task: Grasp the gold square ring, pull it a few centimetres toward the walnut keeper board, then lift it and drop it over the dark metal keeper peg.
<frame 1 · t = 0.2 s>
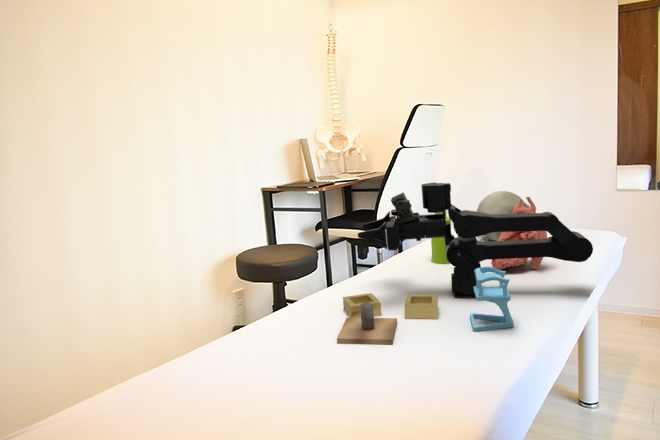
hand: (360, 230, 127), 16 cm above the table, fingers open, 9 cm apart
gold square ring: (421, 312, 114), on the table
soap dispenser: (442, 261, 155), on the table
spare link: (362, 312, 117), on the table
keeper: (368, 332, 106), on the table
anatomical model: (519, 268, 142), on the table
skull: (507, 239, 176), on the table
chair: (492, 325, 105), on the table
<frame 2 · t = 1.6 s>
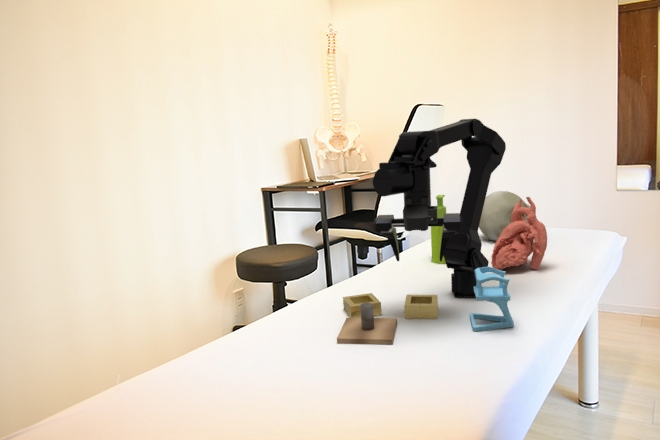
hand: (419, 260, 112), 12 cm above the table, fingers open, 9 cm apart
nothing on the table moved.
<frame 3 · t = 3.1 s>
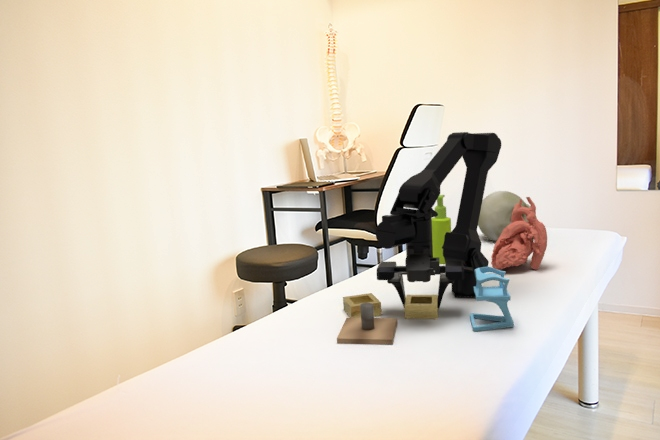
hand: (421, 307, 114), 1 cm above the table, fingers closed on gold square ring, 7 cm apart
gold square ring: (421, 312, 114), on the table, touching gripper
everything else where it was.
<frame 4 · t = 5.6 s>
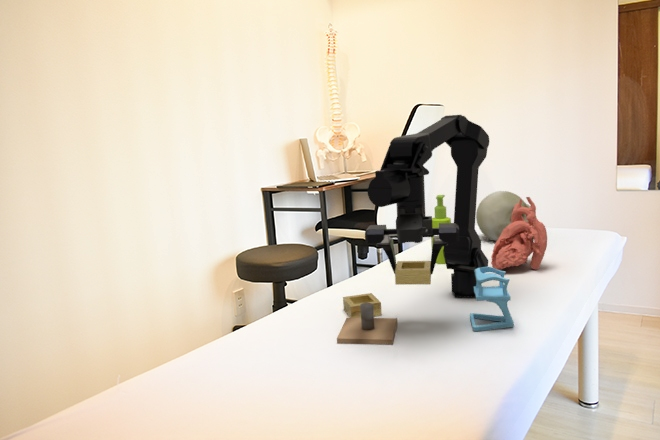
hand: (413, 273, 106), 11 cm above the table, fingers closed on gold square ring, 7 cm apart
gold square ring: (413, 279, 106), point 10 cm above the table, touching gripper
everything else where it was.
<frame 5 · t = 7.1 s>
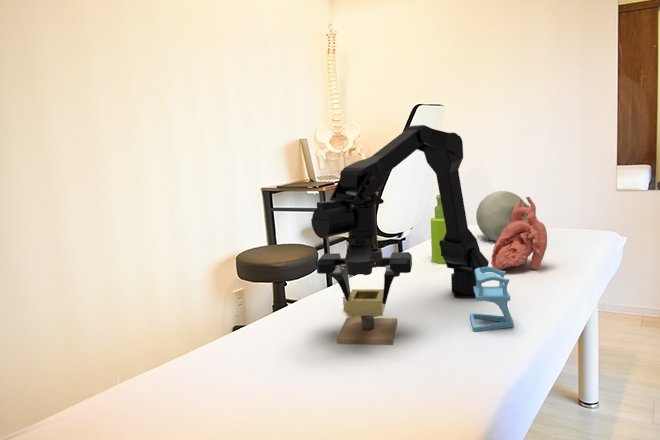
hand: (366, 303, 105), 6 cm above the table, fingers closed on gold square ring, 7 cm apart
gold square ring: (367, 308, 105), point 5 cm above the table, touching gripper
everything else where it was.
when the fingers open (4 cm above the table, at t = 8.1 s): gold square ring drops 2 cm, resting on keeper.
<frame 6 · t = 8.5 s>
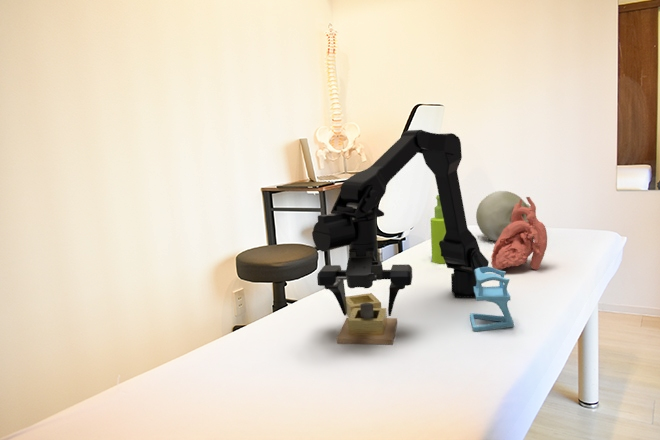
hand: (367, 315, 105), 4 cm above the table, fingers open, 9 cm apart
gold square ring: (368, 328, 105), point 1 cm above the table, touching keeper
everything else where it was.
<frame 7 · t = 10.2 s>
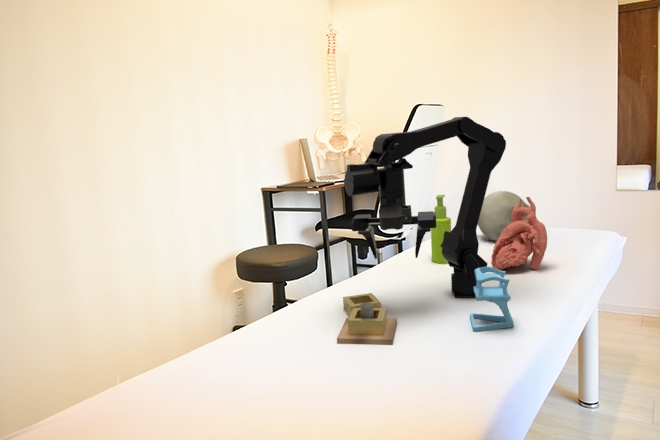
hand: (396, 258, 117), 12 cm above the table, fingers open, 9 cm apart
nothing on the table moved.
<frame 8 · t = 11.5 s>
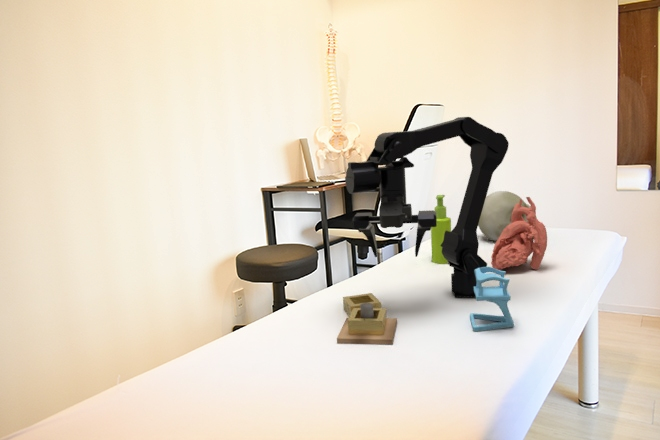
hand: (396, 256, 117), 12 cm above the table, fingers open, 9 cm apart
nothing on the table moved.
at the end: gold square ring 0.0 cm off-centre on the keeper, point 1.0 cm above the keeper's base; the gripper is holding nothing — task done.
